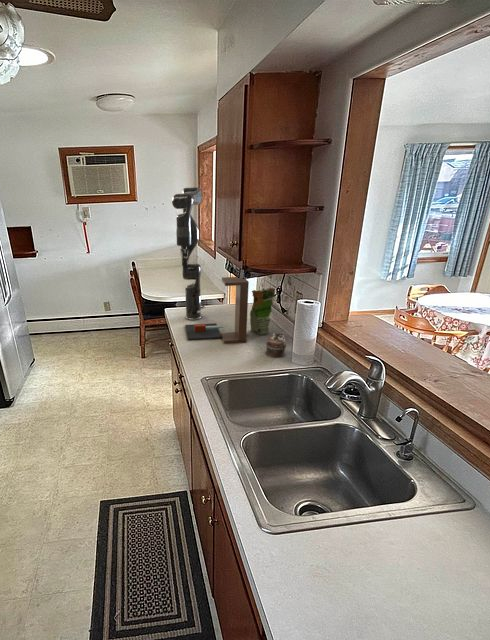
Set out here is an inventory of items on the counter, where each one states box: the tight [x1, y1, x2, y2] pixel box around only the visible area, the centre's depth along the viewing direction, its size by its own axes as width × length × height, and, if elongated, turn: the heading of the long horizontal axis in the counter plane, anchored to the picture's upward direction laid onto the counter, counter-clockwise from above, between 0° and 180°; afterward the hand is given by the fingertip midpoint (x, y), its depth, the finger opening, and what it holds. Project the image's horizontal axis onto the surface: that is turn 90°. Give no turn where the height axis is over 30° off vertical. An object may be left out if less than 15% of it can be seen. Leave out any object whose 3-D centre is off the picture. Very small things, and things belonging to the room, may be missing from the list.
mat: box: [185, 322, 222, 341], centre depth 220 cm, size 22×18×1 cm
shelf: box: [220, 276, 250, 344], centre depth 203 cm, size 12×12×32 cm
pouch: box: [249, 287, 276, 336], centre depth 212 cm, size 11×12×25 cm
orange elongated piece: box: [193, 323, 224, 332], centre depth 219 cm, size 4×16×3 cm, turn 92°
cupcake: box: [265, 332, 287, 358], centre depth 188 cm, size 10×10×10 cm
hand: (184, 267), depth 208 cm, fingers open, 8 cm apart
